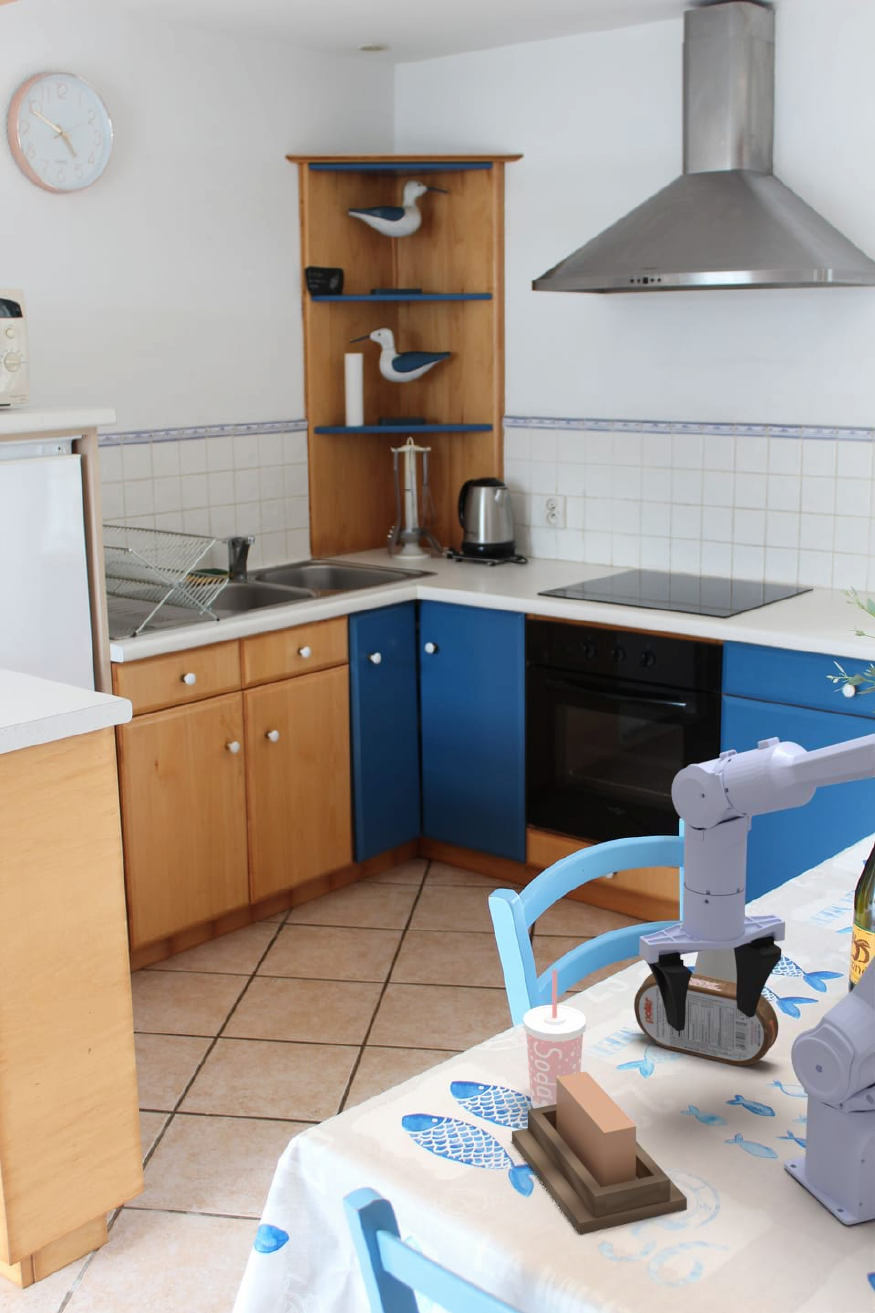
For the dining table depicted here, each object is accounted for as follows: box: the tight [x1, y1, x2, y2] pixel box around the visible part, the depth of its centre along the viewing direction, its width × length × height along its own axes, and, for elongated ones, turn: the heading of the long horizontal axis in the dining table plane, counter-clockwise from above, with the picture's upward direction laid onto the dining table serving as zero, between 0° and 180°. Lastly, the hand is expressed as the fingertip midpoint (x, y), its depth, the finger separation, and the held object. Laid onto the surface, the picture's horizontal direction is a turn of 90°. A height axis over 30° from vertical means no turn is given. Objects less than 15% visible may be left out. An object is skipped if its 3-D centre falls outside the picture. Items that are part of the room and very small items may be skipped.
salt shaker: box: [693, 948, 737, 983], centre depth 156 cm, size 6×6×13 cm
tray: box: [511, 1104, 688, 1235], centre depth 121 cm, size 15×10×3 cm, turn 19°
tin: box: [633, 972, 779, 1067], centre depth 142 cm, size 15×3×8 cm, turn 60°
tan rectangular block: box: [556, 1071, 637, 1187], centre depth 121 cm, size 10×3×6 cm, turn 19°
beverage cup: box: [522, 969, 587, 1109], centre depth 132 cm, size 6×6×14 cm
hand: (711, 1019), depth 130 cm, fingers open, 7 cm apart
